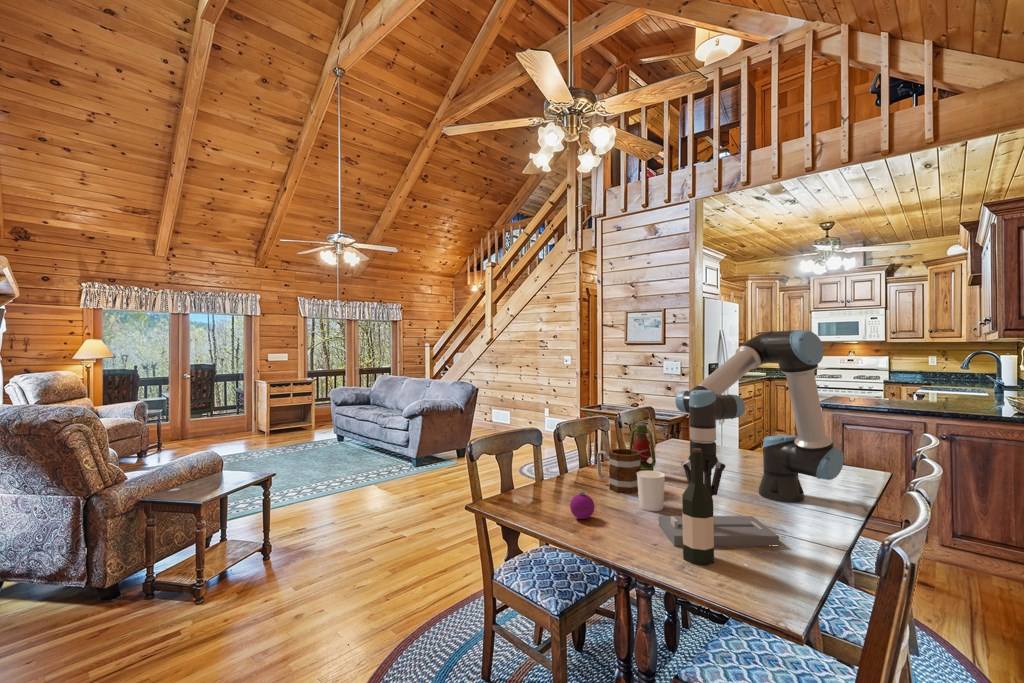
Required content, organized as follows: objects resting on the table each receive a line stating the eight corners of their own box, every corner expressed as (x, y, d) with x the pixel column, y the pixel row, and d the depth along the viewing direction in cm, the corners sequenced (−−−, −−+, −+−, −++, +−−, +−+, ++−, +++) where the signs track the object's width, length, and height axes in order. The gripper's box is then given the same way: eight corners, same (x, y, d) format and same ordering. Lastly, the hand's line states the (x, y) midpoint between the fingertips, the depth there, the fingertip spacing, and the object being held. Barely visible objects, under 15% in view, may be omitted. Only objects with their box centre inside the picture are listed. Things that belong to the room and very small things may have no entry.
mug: (648, 488, 193) (647, 451, 194) (633, 496, 183) (632, 457, 183) (605, 479, 206) (604, 445, 206) (589, 486, 196) (588, 450, 196)
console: (752, 525, 153) (752, 509, 153) (779, 546, 137) (778, 529, 137) (658, 525, 153) (658, 509, 153) (674, 546, 137) (674, 528, 137)
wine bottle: (676, 552, 133) (675, 446, 133) (705, 551, 134) (704, 445, 134) (690, 566, 125) (689, 452, 125) (720, 565, 126) (719, 451, 126)
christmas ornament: (567, 521, 158) (567, 491, 158) (573, 513, 165) (573, 484, 166) (591, 524, 155) (591, 493, 155) (596, 515, 162) (596, 486, 163)
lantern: (622, 474, 213) (621, 408, 214) (634, 470, 221) (634, 405, 221) (649, 480, 203) (649, 411, 204) (662, 475, 211) (661, 408, 211)
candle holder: (666, 513, 165) (666, 478, 165) (637, 511, 167) (637, 477, 167) (663, 503, 174) (663, 471, 174) (636, 502, 176) (635, 469, 176)
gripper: (719, 438, 149) (720, 513, 149) (677, 438, 149) (678, 513, 149) (729, 443, 141) (730, 522, 141) (685, 443, 142) (686, 522, 142)
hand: (703, 517), depth 145 cm, fingers closed
